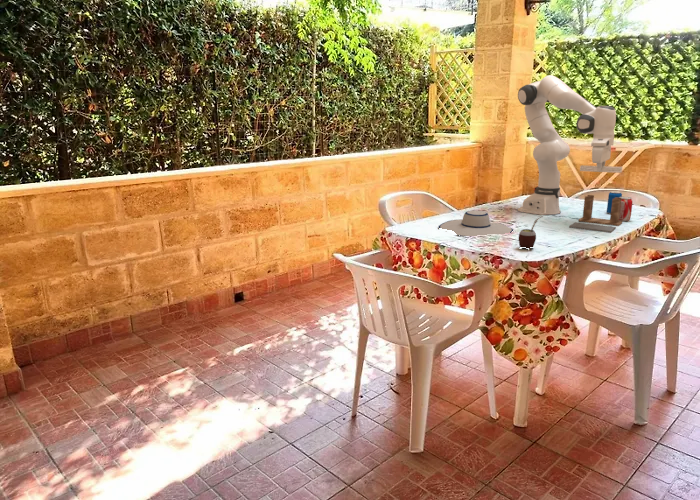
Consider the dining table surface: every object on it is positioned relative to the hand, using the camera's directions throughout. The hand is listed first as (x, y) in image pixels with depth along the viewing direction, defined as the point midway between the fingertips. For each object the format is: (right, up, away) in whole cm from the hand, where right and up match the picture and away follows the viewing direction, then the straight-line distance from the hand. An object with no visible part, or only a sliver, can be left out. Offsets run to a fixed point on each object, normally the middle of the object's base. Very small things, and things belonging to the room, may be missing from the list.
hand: (600, 170), depth 247 cm
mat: (-1, -27, +6) cm, 28 cm away
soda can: (+21, -23, +20) cm, 37 cm away
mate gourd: (-44, -38, -26) cm, 63 cm away
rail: (0, 0, 0) cm, 0 cm away
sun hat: (-57, -28, +10) cm, 65 cm away
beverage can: (+24, -18, +36) cm, 47 cm away
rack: (+8, -24, +17) cm, 30 cm away
